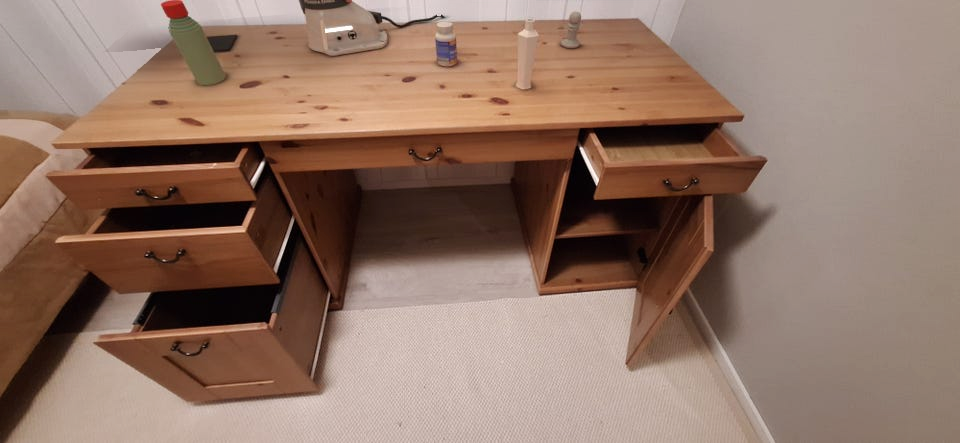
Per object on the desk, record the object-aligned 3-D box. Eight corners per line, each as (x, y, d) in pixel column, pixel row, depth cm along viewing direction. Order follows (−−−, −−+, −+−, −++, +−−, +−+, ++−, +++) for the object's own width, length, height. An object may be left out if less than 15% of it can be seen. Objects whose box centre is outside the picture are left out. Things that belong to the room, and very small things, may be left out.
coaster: (237, 36, 113) (236, 34, 113) (229, 51, 106) (228, 48, 105) (197, 39, 112) (196, 37, 111) (186, 54, 104) (185, 52, 104)
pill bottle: (454, 67, 99) (452, 28, 92) (434, 66, 100) (431, 27, 93) (459, 59, 103) (457, 21, 96) (440, 57, 104) (437, 19, 97)
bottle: (228, 72, 97) (193, -1, 85) (222, 83, 92) (184, 9, 80) (201, 74, 96) (161, 1, 84) (194, 86, 91) (151, 11, 79)
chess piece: (582, 44, 111) (588, 11, 104) (574, 50, 108) (580, 16, 101) (565, 40, 113) (571, 7, 106) (557, 46, 110) (562, 12, 103)
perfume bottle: (512, 81, 94) (517, 16, 83) (530, 81, 94) (537, 16, 83) (515, 90, 91) (520, 24, 80) (533, 90, 91) (541, 23, 80)
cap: (191, 11, 85) (184, -1, 83) (185, 17, 82) (179, 5, 81) (170, 12, 84) (164, 0, 83) (164, 19, 82) (157, 6, 80)
